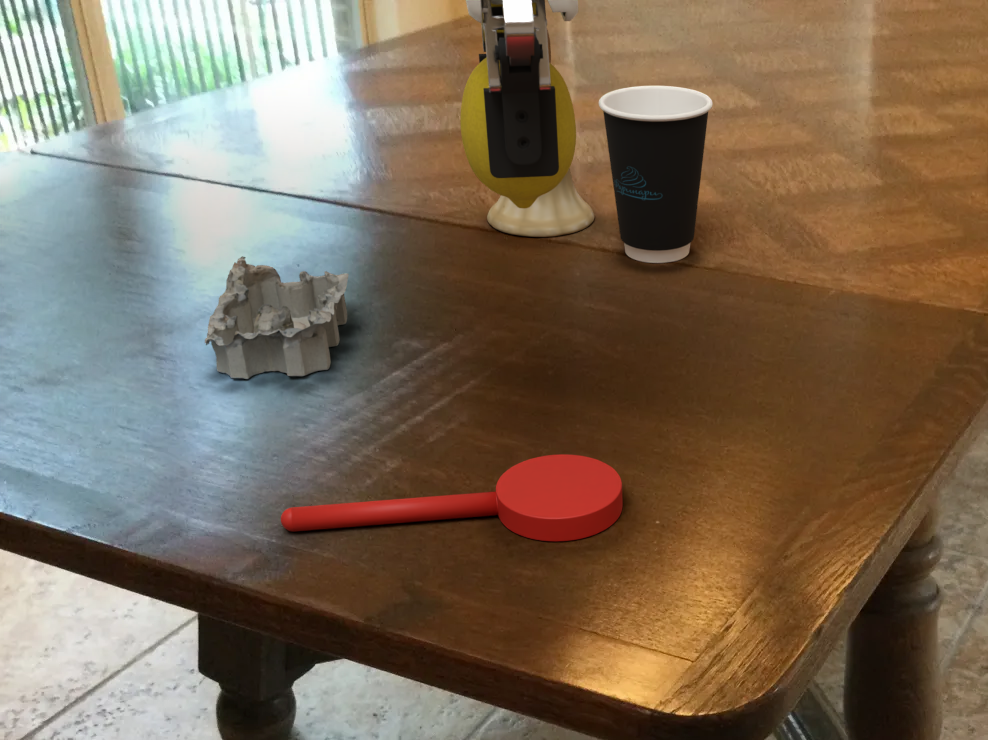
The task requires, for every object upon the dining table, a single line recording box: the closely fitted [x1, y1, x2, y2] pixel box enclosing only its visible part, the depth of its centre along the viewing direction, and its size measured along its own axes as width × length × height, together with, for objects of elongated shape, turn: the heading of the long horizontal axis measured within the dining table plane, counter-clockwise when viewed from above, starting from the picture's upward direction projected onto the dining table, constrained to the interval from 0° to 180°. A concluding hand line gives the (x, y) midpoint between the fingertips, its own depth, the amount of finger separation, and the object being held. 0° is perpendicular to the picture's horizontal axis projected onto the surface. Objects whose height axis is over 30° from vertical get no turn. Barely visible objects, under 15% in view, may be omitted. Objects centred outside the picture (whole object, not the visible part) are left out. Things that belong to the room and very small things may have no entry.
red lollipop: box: [280, 453, 624, 543], centre depth 68 cm, size 17×6×1 cm, turn 100°
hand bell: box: [486, 29, 595, 238], centre depth 100 cm, size 8×8×16 cm
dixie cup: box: [598, 85, 713, 264], centre depth 97 cm, size 8×8×11 cm
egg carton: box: [204, 256, 350, 380], centre depth 84 cm, size 11×8×4 cm
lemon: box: [459, 57, 577, 208], centre depth 65 cm, size 6×6×8 cm
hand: (520, 150), depth 66 cm, fingers closed on lemon, 5 cm apart
